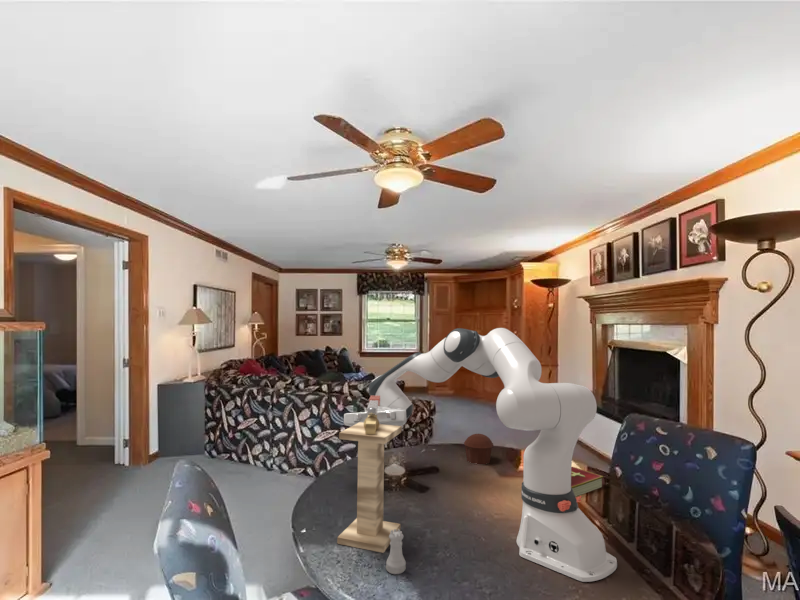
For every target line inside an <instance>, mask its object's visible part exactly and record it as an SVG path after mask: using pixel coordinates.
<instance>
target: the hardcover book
mask: <svg viewBox="0 0 800 600" xmlns="http://www.w3.org/2000/svg"><path fill="white" fill-rule="evenodd" d="M603 478H604V475H600V474H597V473H595V472H591V471H588V470H585V469H581V468H578V467H575V466H571V488H572V489H573V492H574V495H575V497H579V496H582V495H584V494H586V493H590V492H592V491H595V490H598V489H600V488H602V487H603Z"/></svg>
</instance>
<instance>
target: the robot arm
mask: <svg viewBox="0 0 800 600" xmlns="http://www.w3.org/2000/svg"><path fill="white" fill-rule="evenodd" d="M462 367H463V368H465V369H467V370H469V371H471V372H472V373H476V374H477V375H480V376H482V377H485V378H489V379H495V378H498V377H499V378H500V380H501V382H502V383H503V386H504V387H503V389H501V391H500V392H499V394H498V396H497V399H496V402H495V406H496V407H495V408H496V414H497V416H498V418H499V420H500V422H501V423H502V424H503V426H505V427H506V428H508V429H513V430H519V431H525V432H526V431H527V432H529V431H530V432H531V431H540V432H539V434H538V436H537V437H536V439H535V440H534V441H532V442H531V443H529V445H528V446H527V447H526V448H525V450H524V452H523V457H522V458H523V470H522V471H523V474H522V477H523V478H522V479H523V480H522V482H521V497H520V498H521V500H522V508H521V509H522V511H521V518H520V519H521V520H520V525H519V529H518V530H519V531H518V532H517V533H518V534H517V537H516V544H517V546H518V548H519V553H518V554H519V556H520V557H521V558H523V559H525V560H528V561H530V562H533V563H536V564H537V565H541V566H543V567H545V568H547V569H550V570H552V571H555V572H557V573H560V574H561V575H565V576H566V577H569V578H572V579H573V580H577V581H578V582H583V583H587V582H589V583H591V582H595V581H596V582H597V581H599V580H602V579H605V578H607V577H608V576H610V575H611V574H613V573H614V572H615V571H616V569H617V568H618V562H617V561H618V560H617V558H616V557H615V556H613V555H612V554H610V553H609V552H607V549H606V548H607V547H606V543H605V539H604V536H603V533H602V532H601V531H600V530H599V529H598V528H597V526H595V525H594V523H593V522H592V521H591V520H590V519H589V518H588V517H587V515H585V513H584V512H583V511H582V510H581V509H580V508H579V504H578V503H579V502H581V501H582V500H583V499H581V498H582V497H583V496H582V495H579V496H576V497H575V495H574V492H573V489H572V488H571V467H573V466H572V463H573V462H572V461H573V455H574V451H575V448H576V445H577V442H578V440H579V437H580V436H581V434H582V433H583V431H584V430H585V428H586V427H587V425H589V424H590V423H591V422H592V421H594V419H595V417H596V414H597V400H596V397H595V395H594V393H593V392H592V390H590V389H589V387H587V386H585V385H582V384H576V383H573V382H551V383H549V382H548V383H546V382H541V381H540V379H541V376H542V371H543V370H542V365H541V362H540V361H539V360H538V358H537V357H536V355H534V353H533V352H532V351H531V349H529V347H528V346H527V345H526V343H524V342H523V341H522V339H520V338H519V336H517V335H516V334H515V333H514V332H512V331H511V330H509V329H508V328H505V327H496V328H493V329H492V330H490V331H489V332H488V333H487V334H486V335H481V334H479V332H478V331H477V330H471V329H467V328H462V327H461V328H460V327H459V328H458V327H457V328H454V329H453V330H451V331H450V332H449V333H448V334H447V335H446V337H444V338H443V339H441V341H439V342H438V343H437V344H436V345H434V347H433V348H431V349H430V350H429V351H427V352H425V353H422V352H419V351H418V352H415V353H413V354H410V355H409V356H408V357H406V358H404V359H403V360H402V361H400V362H399V363H397V364H396V365H394V366H392V368H389V370H387V371H385V372H384V373H383V374H381V375H378V376H377V377H375V378H374V379H373V380H372V381H371V382H370V383H369V384H368V395H369V396H380V405H379V406H378V410H377V414H376V415H377V419H378V420H379V424H384V425H394V426H402V428H403V427H404V426H405V424H406V423H407V421H408V419H410V417H411V416H412V413H413V412H414V404H413V403H412V401H411V400H410V399H409V398H408V397H407V395H406V394H405V393H404V392H403V391H402V389H401V388H400V387H399V386H398V385H397V382H396V380H397V379H399V378H400V377H401V376H403V375H404V374H405V373H407V372H412V373H414V374H416V375H418V376H420V377H421V378H423V379H424V380H427V381H429V382H431V383H444V382H446V381H448V379H450V378H451V377H452V376H454V374H456V373H457V372H458V371H459V369H460V368H462ZM367 417H368V414H367V410H366V411H363V412H346V413H344V414H343V425H345V426H347V427H351V426H353V425H355V424H357V423H359V422H363V423H364V421H365V419H366V418H367Z"/></svg>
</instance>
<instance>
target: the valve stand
mask: <svg viewBox="0 0 800 600" xmlns="http://www.w3.org/2000/svg"><path fill="white" fill-rule="evenodd" d="M402 429H403V427H402V426H394V425H384V424H379V420H378V419H377V415H368V417H367V418H366V419H365V421H364V423H363V422H359V423H357V424H355V425H353V426H348V427H347V428H346V429H343V430H342V431H340V432H339V433H338V436H339V437H338V439H339V440H343V441H344V440H345V441H353V442H358V443H357V488H356V489H357V490H356V491H357V495H356V497H357V498H356V518H355V519H354V520H353V521H352V522H351V523H350V524H349V525H348V527H346V528H345V529H344V530H343V531H341V533H340V534H339V535H338V536H337V539H336V540H337V541H336V544H338V545H342V546H347V547H353V548H357V549H363V550H367V551H371V552H377V553H382V554H384V553H385V552H386V550H387V549H388V548H389V546H391V545H390V542H391V540H390V538H389V535H390V533H391V530H393V532H394V529H396V531H398V529H399V530H400V531H402V530H401V525H402V524H401V523H397V522H391V521H386V520H384V485H385V484H384V482H385V481H384V479H385V477H384V476H385V473H384V472H385V470H384V468H385V467H384V466H385V463H384V462H385V445H386V444H387V443H388V442H390V441H391V440H393V439H394V438H395V437H397V436H398V435H399V434H401V433H403V432H402Z"/></svg>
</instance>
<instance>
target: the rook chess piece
mask: <svg viewBox="0 0 800 600" xmlns="http://www.w3.org/2000/svg"><path fill="white" fill-rule="evenodd" d="M389 538H390V540H391V542H390V545H389V546H390V548H389V549H390V550H389V555H388V557H387V559H386V561H385V570H386V571H387V572H388V573H389V574H392V575H401V574H403V573H404V572H405V571H406V569H407V565H406V564H407V562H406V560H405V557H404V555H403V549H402V548H403V541H402V540H403V539H404V534H403V531H402V530H399V529H398V531H396V529H394V532H393V530H391V533H390V535H389Z"/></svg>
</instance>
